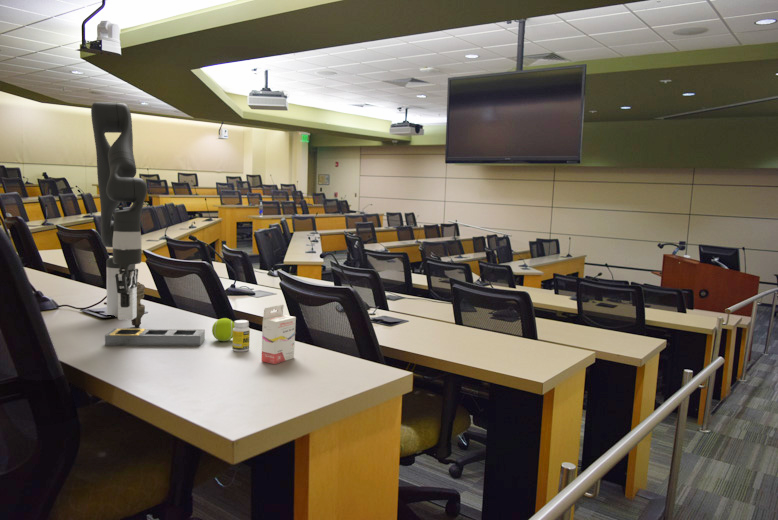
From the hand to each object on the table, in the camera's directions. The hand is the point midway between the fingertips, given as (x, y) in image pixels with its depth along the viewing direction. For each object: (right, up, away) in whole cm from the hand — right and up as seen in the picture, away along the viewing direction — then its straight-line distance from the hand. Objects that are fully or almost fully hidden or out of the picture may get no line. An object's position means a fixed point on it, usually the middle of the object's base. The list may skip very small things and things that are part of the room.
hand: (127, 305), depth 162 cm
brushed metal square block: (0, -4, 0) cm, 4 cm away
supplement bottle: (+33, -13, -1) cm, 36 cm away
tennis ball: (+26, -12, +8) cm, 29 cm away
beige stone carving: (-6, -9, +19) cm, 22 cm away
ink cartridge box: (+46, -14, -9) cm, 49 cm away
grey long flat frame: (+7, -11, +3) cm, 14 cm away
